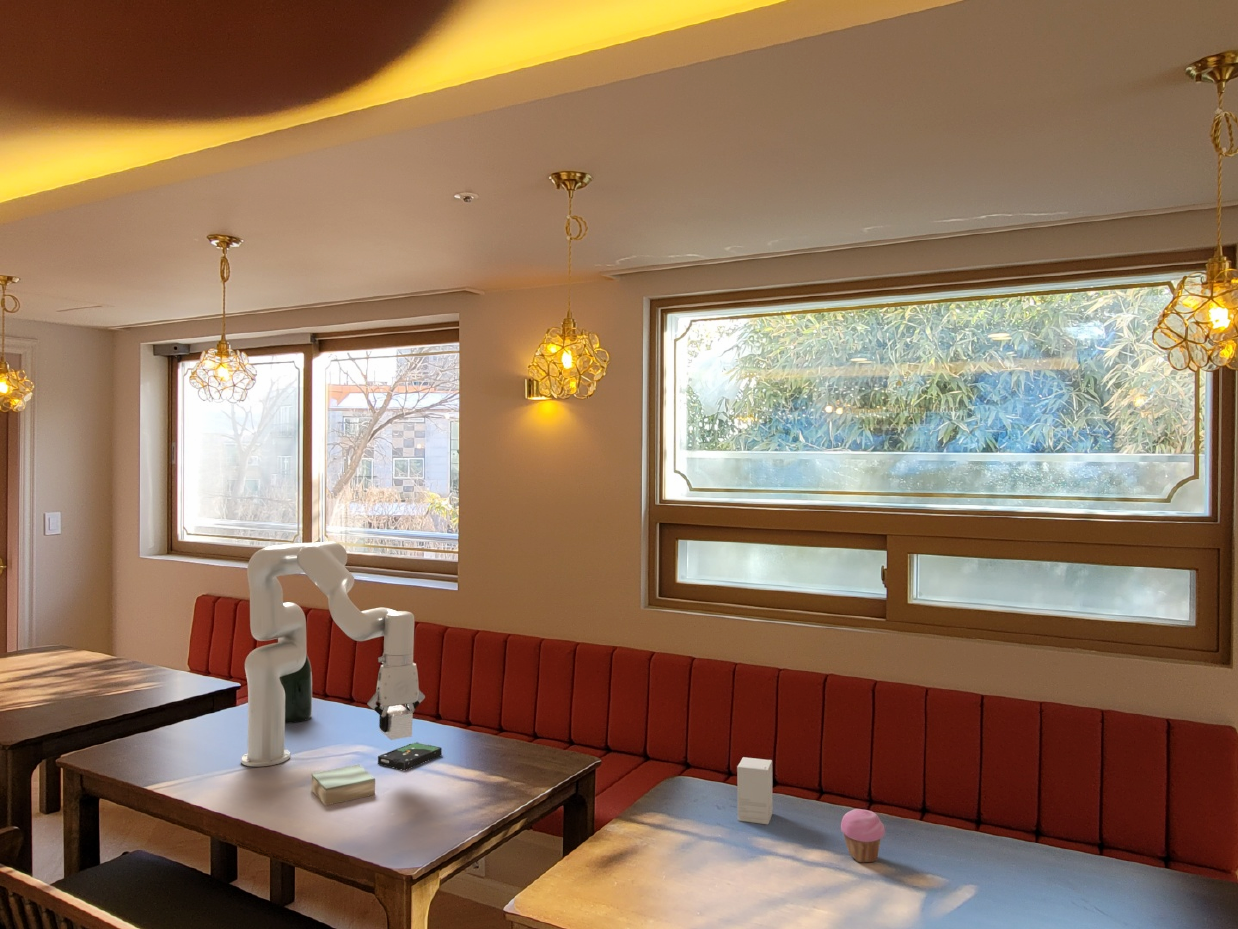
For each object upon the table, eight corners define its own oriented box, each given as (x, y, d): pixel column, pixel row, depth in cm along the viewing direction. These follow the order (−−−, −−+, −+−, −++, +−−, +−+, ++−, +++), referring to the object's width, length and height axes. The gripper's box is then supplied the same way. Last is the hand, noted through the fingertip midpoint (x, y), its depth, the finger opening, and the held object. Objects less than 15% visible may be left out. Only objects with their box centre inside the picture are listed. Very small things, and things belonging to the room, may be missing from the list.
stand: (311, 790, 207) (311, 774, 207) (358, 780, 214) (359, 764, 214) (325, 805, 197) (326, 788, 197) (374, 794, 204) (375, 778, 204)
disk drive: (404, 773, 221) (442, 756, 234) (404, 763, 221) (442, 747, 234) (377, 766, 226) (415, 750, 239) (377, 756, 226) (415, 740, 239)
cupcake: (892, 865, 169) (893, 816, 169) (855, 871, 166) (855, 821, 166) (868, 847, 177) (868, 800, 177) (832, 852, 175) (832, 804, 175)
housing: (379, 730, 217) (380, 707, 217) (399, 727, 220) (400, 704, 220) (390, 739, 209) (391, 716, 209) (411, 736, 212) (412, 713, 212)
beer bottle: (318, 715, 272) (319, 615, 272) (299, 724, 262) (300, 620, 262) (290, 713, 274) (292, 614, 275) (270, 722, 264) (271, 619, 265)
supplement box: (773, 813, 195) (773, 759, 195) (768, 825, 188) (768, 770, 188) (742, 809, 197) (742, 756, 198) (736, 821, 190) (736, 766, 191)
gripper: (370, 666, 206) (368, 738, 206) (435, 659, 217) (432, 727, 216) (360, 660, 213) (358, 730, 212) (423, 653, 223) (421, 720, 222)
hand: (395, 728), depth 214 cm, fingers closed on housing, 5 cm apart
